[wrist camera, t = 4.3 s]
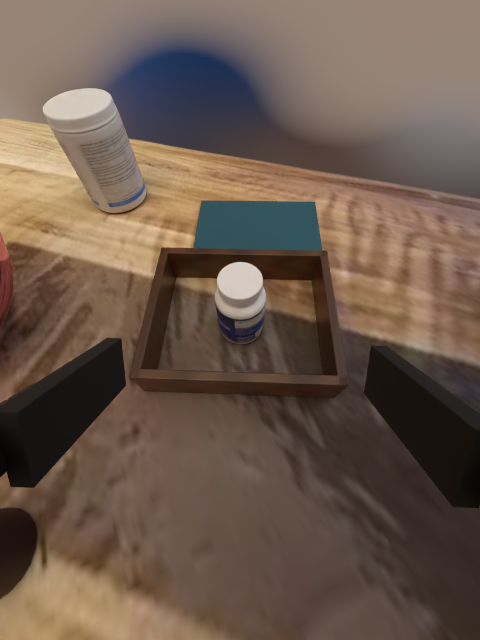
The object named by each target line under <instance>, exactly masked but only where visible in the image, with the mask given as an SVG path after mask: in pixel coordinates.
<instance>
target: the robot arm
mask: <svg viewBox="0 0 480 640" xmlns="http://www.w3.org/2000/svg"><path fill="white" fill-rule="evenodd" d="M125 386H126V380H125V371H124V361H123V351H122V341H121V339H120V338H106V339H105V340H103V341H102V342H100V343H99V344H97V345H95V346H94V347H92V348H91V349H89V350H88V351H86V352H84V353H83V354H81V355H80V356H78V357H76V358H75V359H73V360H72V361H70V362H69V363H67V364H65V365H64V366H62V367H61V368H59V369H58V370H56V371H54V372H53V373H51V374H50V375H48V376H47V377H45V378H43V379H42V380H40V381H39V382H37V383H35V384H32V385H30V386H28V387H26V388H25V389H23V390H21V391H20V392H18V394H15V395H13V396H12V397H10V398H9V399H8V400H5V401H4V402H2V403H1V404H0V477H1V476H2V475H3V474H4V473H5V472H6V471H7V474H8V478H9V482H10V486H11V487H30V488H34V487H35V486H36V485H37V484H38V483H39V481H40V480H41V479H42V478H43V477H44V476H45V475H46V474H47V473H48V471H49V470H50V469H51V468H52V467H53V466H54V465H55V464H56V463H57V461H58V460H59V459H60V458H61V457H62V456H63V455H64V454H65V453H66V451H67V450H68V449H69V448H70V447H71V446H72V445H73V444H74V443H75V441H76V440H77V439H78V438H79V437H80V436H81V435H82V434H83V433H84V431H85V430H86V429H87V428H88V427H89V426H90V425H91V424H92V423H93V421H94V420H95V419H96V418H97V417H98V416H99V415H100V414H101V413H102V411H103V410H104V409H105V408H106V407H107V406H108V405H109V404H110V403H111V401H112V400H113V399H114V398H115V397H116V396H117V395H118V394H119V393H120V391H121V390H122V389H123V388H124V387H125ZM364 394H365V395H366V397H367V398H368V399H369V400H370V402H371V403H372V404H373V406H374V407H375V408H376V409H377V411H378V412H379V413H380V415H381V416H382V417H383V418H384V420H385V421H386V422H387V423H388V425H389V426H390V427H391V429H392V430H393V431H394V432H395V434H396V435H397V436H398V438H399V439H400V440H401V441H402V443H403V444H404V445H405V446H406V448H407V449H408V450H409V452H410V453H411V454H412V455H413V457H414V458H415V459H416V460H417V462H418V463H419V464H420V466H421V467H422V468H423V469H424V471H425V472H426V473H427V475H428V476H429V477H430V478H431V480H432V481H433V482H434V483H435V485H436V486H437V487H438V489H439V490H440V491H441V492H442V494H443V495H444V496H445V498H446V499H447V500H448V501H449V503H450V504H451V505H452V506H453V507H466V508H479V505H480V410H478V408H477V407H476V406H474V405H473V404H471V403H470V402H469V401H467V400H465V399H463V398H461V397H459V396H457V395H455V394H453V393H450V392H449V391H448V390H446V389H445V388H444V387H442V386H441V385H439V384H438V383H437V382H435V381H434V380H432V379H431V378H430V377H428V376H427V375H426V374H424V373H423V372H421V371H420V370H419V369H417V368H416V367H414V366H413V365H412V364H410V363H409V362H407V361H406V360H405V359H403V358H402V357H401V356H399V355H398V354H396V353H395V352H394V351H392V350H391V349H389V348H388V347H387V346H371V351H370V358H369V364H368V371H367V377H366V384H365V390H364Z"/></svg>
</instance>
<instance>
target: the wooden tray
mask: <svg viewBox="0 0 480 640" xmlns="http://www.w3.org/2000/svg"><path fill="white" fill-rule="evenodd" d="M236 262H245V263H249V264H252V265H253V266H255V267H256V268H257V269H258V270H259V271H260V272H261V274H262V277H263V279H294V280H312V285H313V293H314V302H315V310H316V319H317V327H318V336H319V344H320V353H321V361H322V370H323V375H304V374H274V373H245V372H215V371H185V370H157V368H158V363H159V358H160V353H161V348H162V343H163V338H164V333H165V328H166V324H167V319H168V314H169V309H170V304H171V299H172V294H173V289H174V284H175V279H176V277H203V278H217V277H218V274H219V272H220V271H221V270H222V269H223V268H224V267H225V266H227V265H229V264H231V263H236ZM129 378H130V379H131V380H132V381H133V382H135V383H136V384H137V385H138V386H139V387H141V388H142V389H143V390H144V391H159V392H186V393H213V394H241V395H268V396H296V397H323V398H335V397H336V396H337V395H338V394H339V393H340V392H342V391H343V390H344V389H345V388H346V387H347V386H349V384H348V378H347V372H346V366H345V360H344V353H343V347H342V341H341V335H340V329H339V323H338V317H337V310H336V304H335V298H334V292H333V286H332V280H331V274H330V267H329V261H328V255H327V251H318V250H264V249H210V248H161V252H160V256H159V260H158V264H157V268H156V272H155V276H154V280H153V284H152V288H151V292H150V296H149V300H148V304H147V308H146V312H145V316H144V320H143V324H142V328H141V332H140V336H139V339H138V343H137V347H136V351H135V355H134V359H133V363H132V367H131V371H130V375H129Z"/></svg>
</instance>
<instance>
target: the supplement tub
mask: <svg viewBox="0 0 480 640" xmlns="http://www.w3.org/2000/svg"><path fill="white" fill-rule="evenodd" d="M43 113H44V115H45V117H46V119H47V121H48V124H49V126H50V127H51V130H52V131H53V133H54V135H55V137H56V138H57V140H58V142H59V144H60V145H61V147H62V149H63V150H64V152H65V154H66V156H67V157H68V159H69V161H70V163H71V164H72V166H73V168H74V169H75V171H76V173H77V175H78V176H79V178H80V180H81V181H82V183H83V185H84V187H85V188H86V190H87V192H88V194H89V195H90V197H91V199H92V200H93V202H94V204H95V205H96V206H97V207H98V208H99V209H101V210H103V211H105V212H109V213H119V212H126V211H129V210H131V209H133V208H135V207H137V206H138V205H139V204H140V203H142V201H143V200H144V198H145V196H146V186H145V183H144V181H143V178H142V175H141V172H140V170H139V167H138V164H137V161H136V159H135V156H134V153H133V150H132V148H131V145H130V142H129V139H128V137H127V134H126V131H125V128H124V126H123V123H122V120H121V118H120V115H119V112H118V110H117V108H116V106H115V105H114V102H113V99H112V97H111V95H110V94H109V93H107V92H106V91H104V90H100V89H95V88H84V89H76V90H71V91H68V92H64V93H62V94H59V95H57V96H55V97H53V98H51V99H50V100H49V101H48V102H47V103H46V104H45V105H44V107H43Z"/></svg>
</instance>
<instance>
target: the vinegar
mask: <svg viewBox="0 0 480 640" xmlns="http://www.w3.org/2000/svg"><path fill="white" fill-rule="evenodd" d="M36 536H37V534H36V529H35V524H34V522H33V520H32V519H31V517H30V515H29V514H28V513H26V512H24V511H22V510H21V509H17V508H3V509H0V598H2V597H3V596H5V595H6V594H8V593H9V592H10V591H11V590H12V588H13V587H14V586H15V585H16V584H17V583H18V582H19V581H20V580H21V578H22V577H23V575H24V573H25V572H26V570H27V568H28V567H29V565H30V563H31V560H32V557H33V554H34V551H35V546H36Z"/></svg>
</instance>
